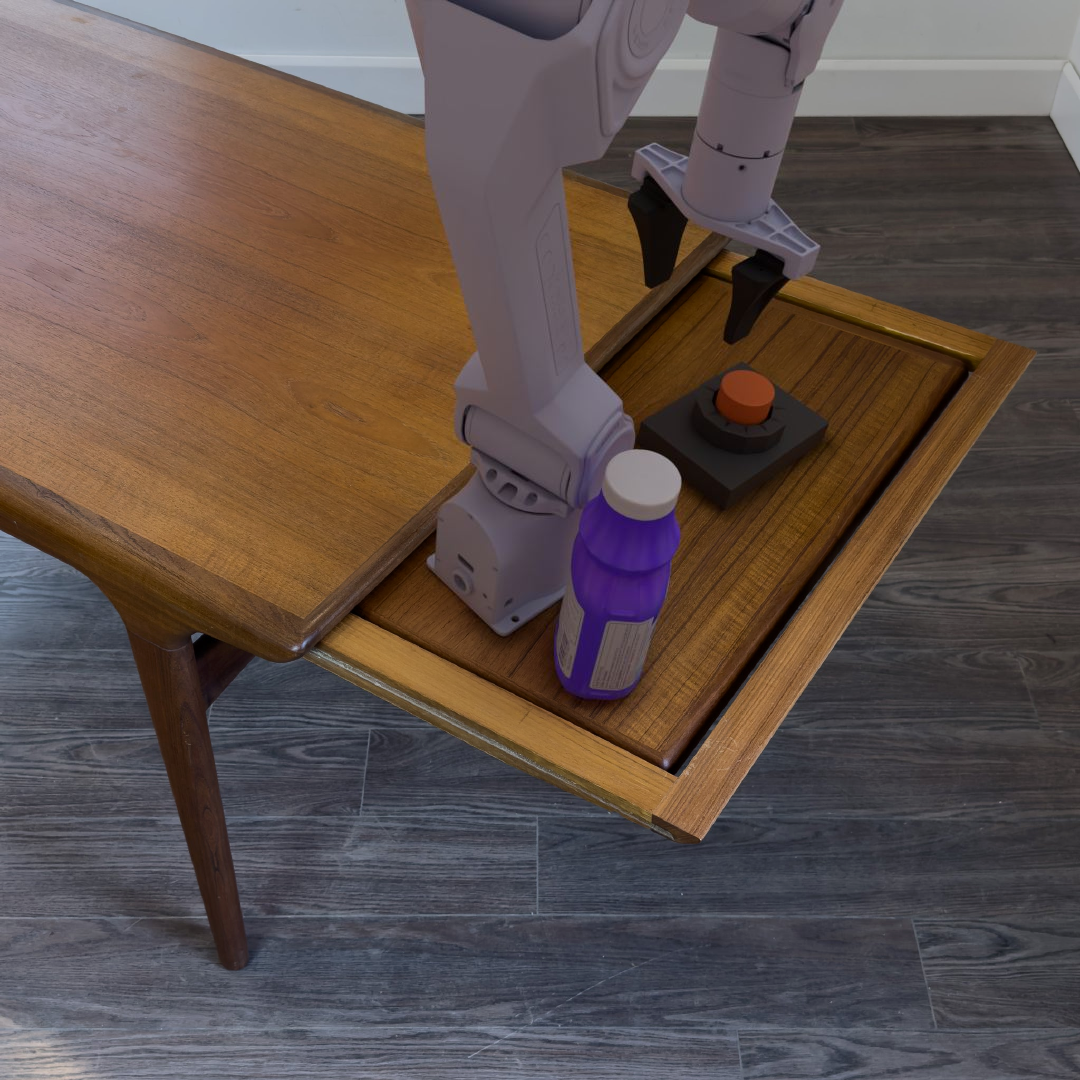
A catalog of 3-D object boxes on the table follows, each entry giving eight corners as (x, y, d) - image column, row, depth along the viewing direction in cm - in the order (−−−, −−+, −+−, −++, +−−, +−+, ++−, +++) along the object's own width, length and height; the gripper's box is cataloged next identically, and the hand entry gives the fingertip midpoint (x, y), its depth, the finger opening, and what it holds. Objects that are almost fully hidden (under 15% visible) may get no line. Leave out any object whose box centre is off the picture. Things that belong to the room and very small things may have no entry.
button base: (724, 511, 81) (737, 473, 78) (635, 442, 85) (645, 403, 82) (821, 442, 87) (837, 405, 84) (735, 381, 91) (747, 342, 88)
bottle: (640, 715, 68) (703, 530, 55) (549, 708, 68) (591, 519, 55) (636, 621, 73) (693, 430, 60) (551, 613, 73) (590, 420, 60)
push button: (744, 434, 81) (752, 413, 80) (704, 404, 83) (710, 383, 81) (778, 412, 83) (785, 391, 82) (738, 383, 85) (744, 362, 83)
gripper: (872, 168, 68) (808, 341, 78) (697, 67, 74) (659, 240, 84) (801, 205, 64) (745, 381, 74) (624, 97, 70) (594, 273, 80)
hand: (695, 309), depth 79 cm, fingers open, 7 cm apart
